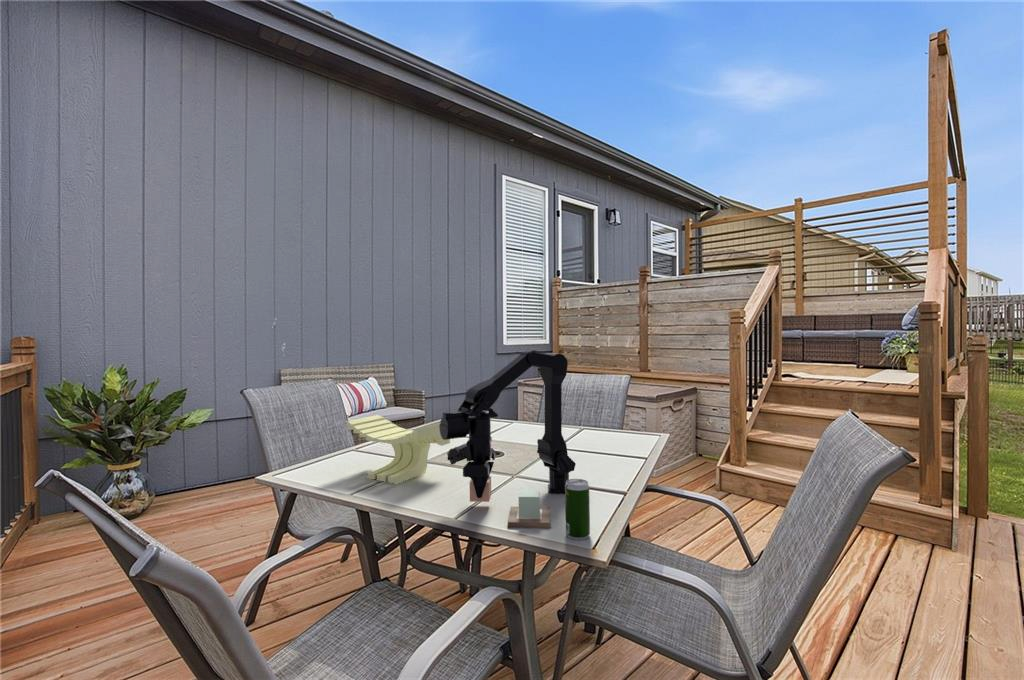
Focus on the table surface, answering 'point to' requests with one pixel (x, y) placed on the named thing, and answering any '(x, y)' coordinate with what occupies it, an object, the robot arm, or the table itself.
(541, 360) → the robot arm
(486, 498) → the dusty pink cube
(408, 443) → the slatted curved stool
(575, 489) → the beer can
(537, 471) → the table surface
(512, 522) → the tower base
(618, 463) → the table surface
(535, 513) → the brick sage
